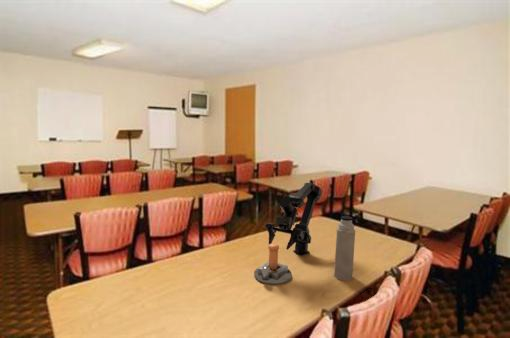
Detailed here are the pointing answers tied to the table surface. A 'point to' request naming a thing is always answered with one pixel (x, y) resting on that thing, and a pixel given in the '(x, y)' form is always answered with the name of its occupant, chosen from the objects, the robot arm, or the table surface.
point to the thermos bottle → (344, 249)
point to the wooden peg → (273, 256)
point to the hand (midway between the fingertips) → (278, 247)
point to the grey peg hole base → (273, 274)
